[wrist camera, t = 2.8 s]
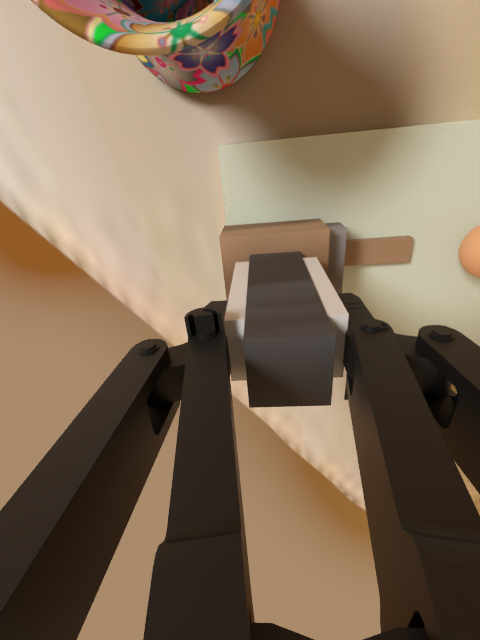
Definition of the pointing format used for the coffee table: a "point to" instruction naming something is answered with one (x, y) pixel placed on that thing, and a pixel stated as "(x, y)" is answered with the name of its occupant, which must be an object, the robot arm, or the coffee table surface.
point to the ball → (471, 252)
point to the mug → (175, 35)
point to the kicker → (286, 308)
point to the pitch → (376, 212)
